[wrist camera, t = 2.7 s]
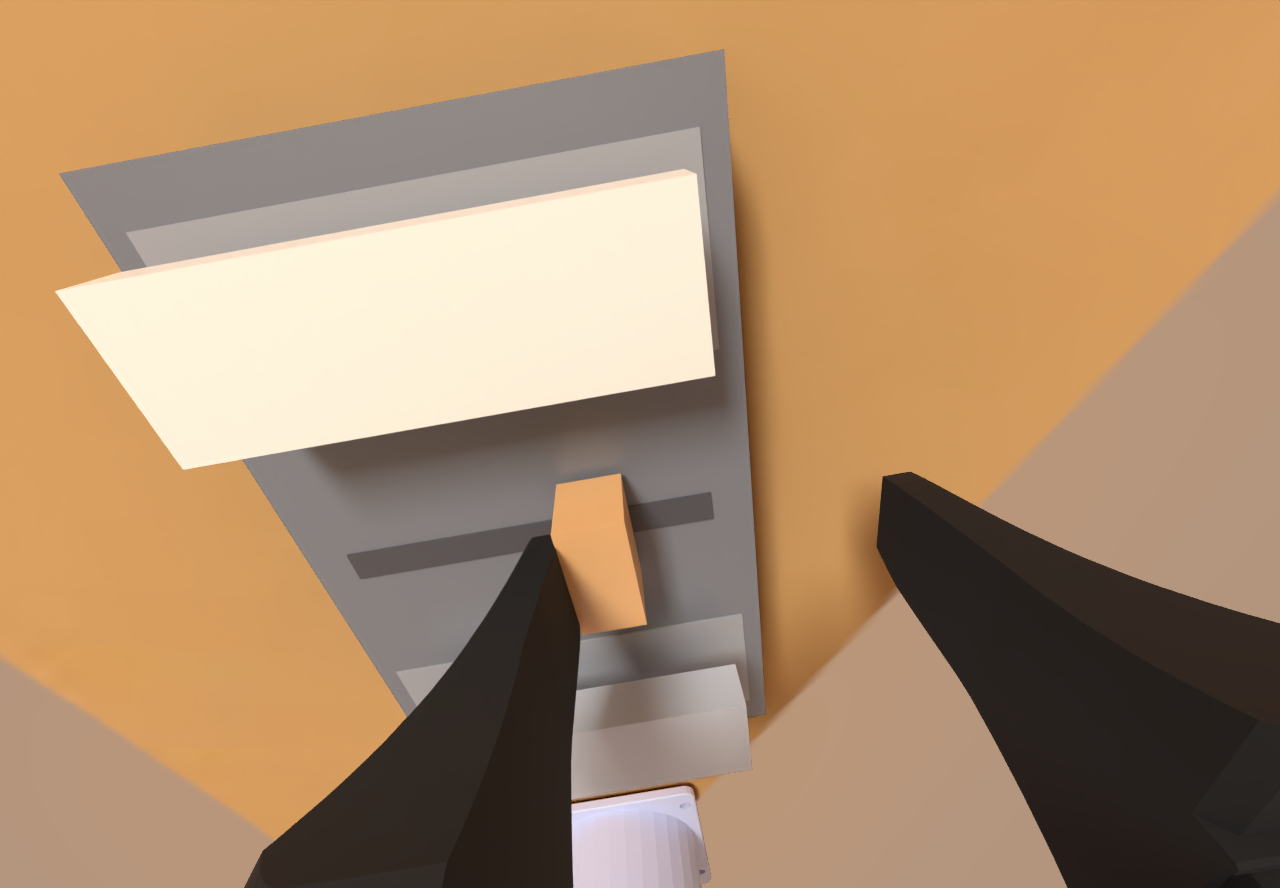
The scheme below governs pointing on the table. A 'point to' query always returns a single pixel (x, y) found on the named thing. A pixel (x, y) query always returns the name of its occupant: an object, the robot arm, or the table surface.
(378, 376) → the cream bar
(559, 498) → the orange rectangular block
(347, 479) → the panel
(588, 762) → the grey bar
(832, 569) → the table surface
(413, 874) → the robot arm
